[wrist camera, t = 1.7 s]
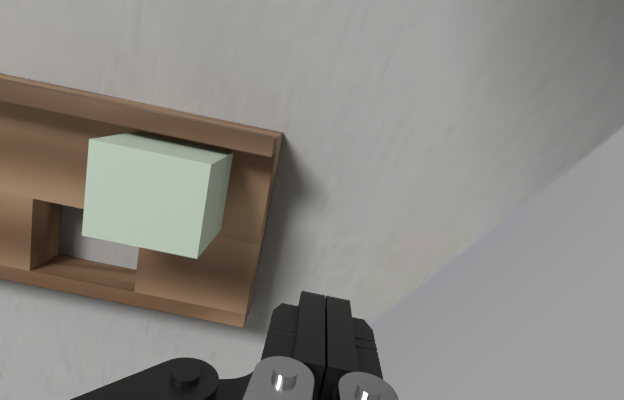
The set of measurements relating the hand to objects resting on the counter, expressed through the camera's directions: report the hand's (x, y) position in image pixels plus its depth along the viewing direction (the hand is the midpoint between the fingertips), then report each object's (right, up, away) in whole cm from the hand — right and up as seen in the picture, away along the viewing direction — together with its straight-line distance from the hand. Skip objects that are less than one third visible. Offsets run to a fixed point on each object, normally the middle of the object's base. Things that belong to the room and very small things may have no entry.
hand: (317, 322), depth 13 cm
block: (-8, +5, +13) cm, 16 cm away
